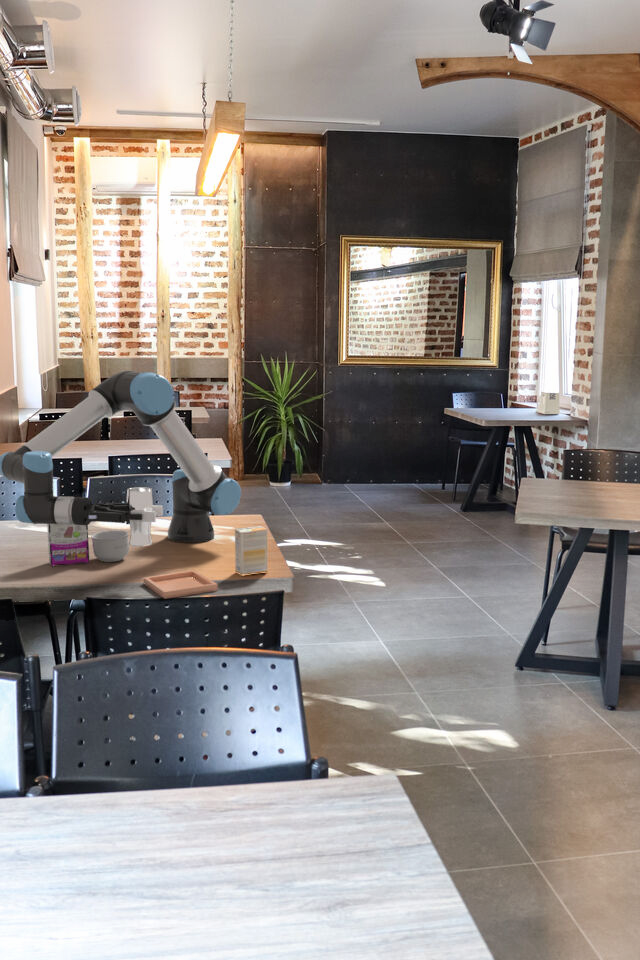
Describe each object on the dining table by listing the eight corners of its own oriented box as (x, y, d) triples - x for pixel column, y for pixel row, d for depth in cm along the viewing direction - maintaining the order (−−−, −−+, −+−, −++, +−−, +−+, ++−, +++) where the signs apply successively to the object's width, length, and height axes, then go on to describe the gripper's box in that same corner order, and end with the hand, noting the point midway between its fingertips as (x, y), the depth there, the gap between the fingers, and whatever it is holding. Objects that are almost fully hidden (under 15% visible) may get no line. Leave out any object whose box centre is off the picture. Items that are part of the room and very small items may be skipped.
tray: (194, 576, 253) (194, 570, 253) (217, 590, 240) (217, 584, 240) (143, 583, 245) (143, 577, 245) (164, 598, 233) (164, 592, 232)
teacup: (120, 565, 263) (119, 539, 262) (85, 563, 265) (84, 536, 264) (139, 553, 276) (138, 528, 275) (106, 551, 278) (105, 526, 277)
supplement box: (261, 569, 261) (261, 525, 259) (267, 573, 257) (268, 529, 255) (234, 572, 258) (234, 528, 255) (240, 577, 253) (240, 531, 251)
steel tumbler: (131, 548, 238) (130, 492, 236) (124, 542, 244) (123, 487, 242) (157, 545, 241) (156, 490, 239) (149, 539, 248) (148, 486, 245)
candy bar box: (86, 559, 269) (85, 505, 266) (89, 563, 265) (88, 508, 262) (48, 562, 265) (46, 507, 262) (50, 566, 260) (48, 511, 257)
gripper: (87, 516, 253) (168, 519, 251) (62, 533, 234) (149, 536, 232) (86, 490, 252) (167, 493, 250) (61, 504, 232) (148, 507, 231)
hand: (158, 513), depth 241 cm, fingers closed on steel tumbler, 7 cm apart
